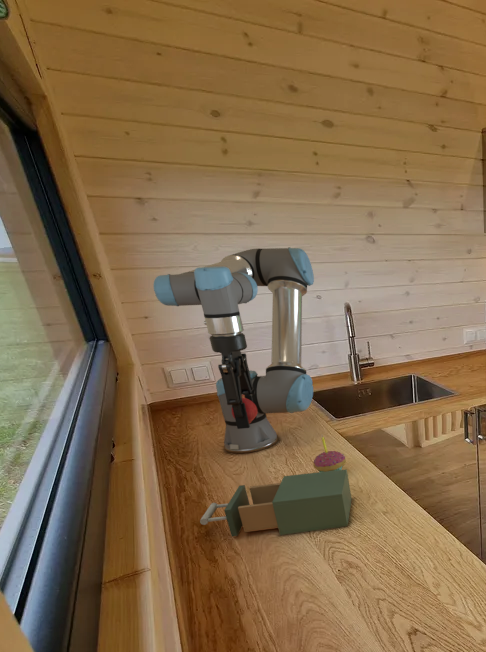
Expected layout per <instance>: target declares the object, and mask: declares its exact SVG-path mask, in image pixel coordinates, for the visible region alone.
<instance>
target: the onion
mask: <svg viewBox="0 0 486 652" xmlns="http://www.w3.org/2000/svg"><path fill="white" fill-rule="evenodd" d="M242 401H243V402H242V403H245V407H246V412H247V416H248V420H249V424H250V423H251V421H252V420H253V419H254V418H255V417H256V416H257V413H258V412H257V407H256V405H255V404H254V403H253V402H252V401H251V400H249V399H247V398H245V395H243V394H242ZM232 415H233V417H234V418H235V416H234V412H233V408H232Z"/></svg>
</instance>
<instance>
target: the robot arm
mask: <svg viewBox="0 0 486 652" xmlns="http://www.w3.org/2000/svg"><path fill="white" fill-rule="evenodd" d="M314 282H315V276H314V270H313V265H312V263H311V260H310V258H309V256H308V254H307V253H306V252H305V250H304V249H303V248H300V247H299V248H298V247H291V246H290V247H284V248H283V247H282V248H281V247H279V248H278V247H277V248H276V247H275V248H273V247H272V248H271V247H270V248H250V249H246V250H243V251H239V252H236V253H233V254H230V255H227V256H224V257H223V258H222V259H221V260H220V261H219V262H216V263H211V264H209V265H205V266H202V267H199V266H198V267H196V268H195V269H192V270H189V271H186V272H182V273H177V274H170V273H167V274H160V275H157V276H156V277H155V278H154V279H153V291H154V294H155V297H156V299H157V300H158V301H159V302H160V303H161V304H162V305H164V306H166V307H167V306H169V307H181V306H183V307H185V306H201V308H202V312H203V317H204V321H203V324H204V325H205V326H206V328H207V333H208V334H209V335H211V336H210V337H209V342H210V346H211V350H212V352H214V353H216V354H217V353H219V354H221V364H218V366H217V367H218V368H217V369H218V370H219V373H220V376H221V378H219V379H217V381H216V382H215V389H216V396H217V397H218V402H219V405H220V409H221V413H222V417H223V420H224V423H225V430H224V439H223V445H224V449H225V451H226V452H227V453H230V454H239V455H240V454H251V453H256V452H259V451H263V450H265V449H269V448H270V447H272V446H274V445H275V444H276V443H278V440H279V437H278V433H277V432H276V430H275V429H274V427H273V426H272V424H271V423H270V421H269V419H268V418H267V414H286V413H289V414H294V413H300V412H304V411H306V410H308V409H309V407H310V406H311V403H312V401H313V396H314V385H313V382H314V381H313V379H312V376H310V375H309V374H307V369H306V368H305V367H303V366H302V340H303V339H302V336H303V335H302V333H303V332H302V331H303V329H302V328H303V322H302V321H303V297H304V296H305V295H306V294H307V293H308V287H311V286H313V285H314ZM258 287H267V289H268V291H270V292H271V293H272V310H271V313H272V315H271V361H270V362H271V364H270V365H268V366H267V367H266V368H265V375H258V373H257V371H256V370H250V368H249V365H248V359H247V353H246V352H244V353H242V351H244V350H246V349H247V348H248V344H247V340H246V336H245V335H246V334H245V333H243V332H244V331H245V329H244V325H243V321H242V316H241V313H240V308H239V305H242V304H247V303H249V302H251V301H253V300H254V299H255V298H256V296H257V295H258V291H259V289H258ZM242 394H243V395H245V398H247V399H249V400H251V401H252V402H253V403H254V404H255V405H256V407H257V412H258V413H257V416H256V417H255V418H254V419H253V420H252V421H251V423H250V424H249V420H248V416H247V412H246V407H245V403H242V402H243V401H242ZM232 408H233V412H234V416H235V418H234V417H233V415H232Z"/></svg>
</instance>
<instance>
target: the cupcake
mask: <svg viewBox="0 0 486 652" xmlns="http://www.w3.org/2000/svg"><path fill="white" fill-rule="evenodd" d="M321 440H322V441H321V442H322V445H323V450H324V451H323V452H321V453H319V454H318V455H317V456H316V457H315V458H314V459H313V468H314V469H315V470H316V471H318V472H327V471H336V470H343V466H345V465H346V463H347V458H346V455H345V454H344V453H342V452H340V451H336V450H328V448H327V444H326V440H325V437H324V436H323V435H321Z"/></svg>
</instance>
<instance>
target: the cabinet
mask: <svg viewBox="0 0 486 652" xmlns="http://www.w3.org/2000/svg"><path fill="white" fill-rule="evenodd" d="M348 474H349V473H348V469H342V470H336V471H327V472H319V471H318V472H310V473H309V472H308V473H301V474H299V473H298V474H291V475H284V476H283V477H282V480H281V482H280V483H281V484H280V486H279V488H278V490H277V493H276V495H275V497H274V499H273V502H272V504H273V508H274V512H275V516H276V520H277V525H278V528H277V529H278V532H279V536H284V535H292V534H301V533H307V532H314V531H315V532H316V531H323V530H330V529H338V528H339V529H340V528H346V527H348V526H349V520H350V513H351V506H352V501H353V498H352V493H351V486H350V480H349V475H348Z"/></svg>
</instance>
